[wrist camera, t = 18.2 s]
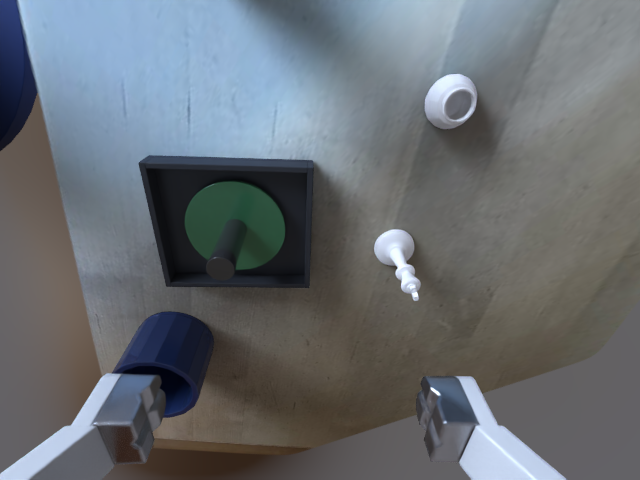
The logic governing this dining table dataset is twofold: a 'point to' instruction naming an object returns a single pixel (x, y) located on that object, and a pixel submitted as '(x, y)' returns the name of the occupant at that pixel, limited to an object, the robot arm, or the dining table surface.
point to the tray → (198, 172)
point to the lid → (234, 227)
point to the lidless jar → (450, 101)
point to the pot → (171, 357)
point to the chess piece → (399, 258)
